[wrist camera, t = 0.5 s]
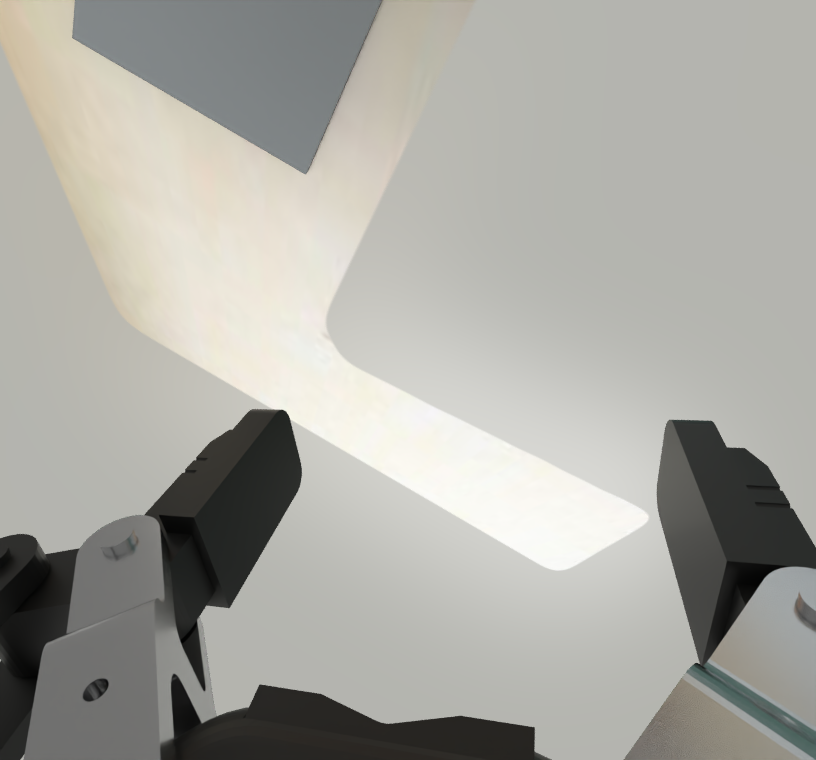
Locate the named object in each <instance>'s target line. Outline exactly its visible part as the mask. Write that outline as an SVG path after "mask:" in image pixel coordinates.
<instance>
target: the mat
mask: <svg viewBox="0 0 816 760" xmlns="http://www.w3.org/2000/svg"><path fill="white" fill-rule="evenodd" d="M381 2H382V0H75V8H74V22H73V35H72V38H73V39H75V40H77V41H78V42H80V43H82V44H83V45H85V46H87V47H89V48H90V49H92V50H94V51H95V52H97V53H99V54H100V55H102V56H104V57H106V58H107V59H109V60H111V61H112V62H114V63H116V64H118V65H119V66H121V67H123V68H124V69H126V70H128V71H130V72H131V73H133V74H135V75H136V76H138V77H140V78H142V79H143V80H145V81H147V82H148V83H150V84H152V85H154V86H155V87H157V88H159V89H160V90H162V91H164V92H165V93H167V94H169V95H171V96H172V97H174V98H176V99H177V100H179V101H181V102H183V103H184V104H186V105H188V106H189V107H191V108H193V109H195V110H196V111H198V112H200V113H201V114H203V115H205V116H207V117H208V118H210V119H212V120H213V121H215V122H217V123H218V124H220V125H222V126H224V127H225V128H227V129H229V130H230V131H232V132H234V133H236V134H237V135H239V136H241V137H242V138H244V139H246V140H248V141H249V142H251V143H253V144H254V145H256V146H258V147H260V148H261V149H263V150H265V151H266V152H268V153H270V154H271V155H273V156H275V157H277V158H278V159H280V160H282V161H283V162H285V163H287V164H289V165H290V166H292V167H294V168H295V169H297V170H299V171H301V172H302V173H304V174H306V173H307V172H308V170H309V167H310V165H311V163H312V161H313V158H314V156H315V154H316V151H317V149H318V147H319V144H320V142H321V140H322V138H323V135H324V133H325V131H326V128H327V126H328V124H329V121H330V119H331V117H332V115H333V112H334V110H335V108H336V105H337V103H338V101H339V98H340V96H341V94H342V91H343V89H344V87H345V85H346V82H347V80H348V78H349V75H350V73H351V71H352V68H353V66H354V64H355V62H356V59H357V57H358V55H359V52H360V50H361V48H362V45H363V43H364V41H365V39H366V36H367V34H368V32H369V29H370V27H371V25H372V22H373V20H374V18H375V16H376V13H377V11H378V9H379V6H380V4H381Z"/></svg>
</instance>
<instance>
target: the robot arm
mask: <svg viewBox="0 0 816 760" xmlns="http://www.w3.org/2000/svg"><path fill="white" fill-rule="evenodd" d="M301 476H302V468H301V462H300V458H299V454H298V450H297V446H296V442H295V438H294V434H293V430H292V426H291V422H290V418H289V416H288V414H287V412H286V411H284V410H267V409H252V410H250V411H249V412H248V413H247V414H246V415H245V416H244V417H243V418H242V420H241V421H240V422H239V423H238V424H237V425H236V426H235V428H234V429H233V430H229V431H227V432H225V433H224V434H223V435H221V436H219V437H218V438H216V439H215V440H213V441H211V442H210V443H209V444H208V445H207V446H206V447H205V448H204V450H203V451H202V452H201V453H200V454H199V455H198V456H197V457H196V461H195V460H194V461H193V462H192V463H191V464H190V465H189V466H188V467H187V468H186V469H185V473H182V474H181V475H180V476H179V477H178V478H177V479H176V480H175V482H174V483H173V484H172V485H171V486H170V487H169V488H168V489H167V490H166V491H165V493H164V494H163V495H162V496H161V497H160V498H159V499H158V500H157V501H156V503H155V504H154V505H153V506H152V507H151V508H150V509H149V510H148V511H147V512H146V514H145V515H135V516H129V517H125V518H122V519H119V520H116V521H113V522H111V523H109V524H107V525H105V526H104V527H102V528H100V529H99V530H97V531H96V532H95V533H94V534H92V535H91V536H90V537H89V538H88V539H87V540H86V541H85V542H84V543H83V545H82V546H81V547H80V548H79V549H74V550H68V551H62V552H57V553H51V554H44V552H43V550H42V548H41V547H40V545H39V544H38V542H37V540H36V538H34V537H33V536H30V535H27V534H26V535H25V534H17V535H11V536H7V537H3V538H0V659H1V662H0V760H20V759H21V758H22V757H23V755H24V760H551V759H549V758H547V757H544V756H542V755H540V754H538V753H536V752H534V740H535V728H534V727H528V726H522V725H516V724H509V723H502V722H496V721H490V720H484V719H477V718H471V717H464V716H455V717H447V718H438V719H429V720H420V721H412V722H402V723H394V724H384V723H380V722H377V721H375V720H373V719H371V718H369V717H367V716H365V715H363V714H361V713H359V712H357V711H354V710H353V709H351V708H348V707H346V706H344V705H342V704H340V703H338V702H336V701H334V700H332V699H330V698H328V697H326V696H324V695H322V694H317V693H311V692H304V691H297V690H291V689H285V688H278V687H272V686H266V685H259V687H258V689H257V691H256V693H255V696H254V698H253V700H252V702H251V704H250V706H249V708H243V709H239V710H235V711H231V712H227V713H225V714H222V715H219V716H217V715H216V711H215V706H214V701H213V694H212V687H211V679H210V673H209V666H208V658H207V651H206V644H205V637H204V630H203V625H202V622H201V619H200V617H199V616H200V615H201V613H202V611H203V610H204V608H205V606H206V605H207V606H216V607H225V608H230V606H231V605H232V603H233V601H234V599H235V598H236V596H237V594H238V593H239V591H240V589H241V587H242V586H243V584H244V582H245V581H246V579H247V577H248V575H249V574H250V572H251V570H252V569H253V567H254V565H255V564H256V562H257V560H258V558H259V557H260V555H261V553H262V552H263V550H264V548H265V546H266V545H267V543H268V541H269V540H270V538H271V536H272V534H273V533H274V531H275V529H276V528H277V526H278V524H279V523H280V521H281V519H282V517H283V516H284V514H285V512H286V510H287V509H288V507H289V505H290V504H291V502H292V500H293V499H294V497H295V495H296V493H297V492H298V489H299V487H300V483H301ZM657 504H658V512H659V517H660V520H661V524H662V528H663V531H664V534H665V538H666V542H667V546H668V549H669V553H670V556H671V560H672V563H673V567H674V571H675V575H676V578H677V582H678V586H679V589H680V593H681V596H682V600H683V604H684V607H685V611H686V614H687V618H688V622H689V625H690V629H691V633H692V636H693V640H694V644H695V647H696V651H697V654H698V658H699V661H700V664H698V663H695V664H694V665H692V666H691V667H690V668H689V669H688V670H687V672H686V673H685V674H684V676H683V677H682V678H681V680H680V681H679V682H678V684H677V685H676V687H675V688H674V689H673V691H672V692H671V694H670V695H669V697H668V698H667V699H666V701H665V702H664V704H663V705H662V706H661V708H660V710H659V711H658V712H657V714H656V715H655V716H654V718H653V719H652V721H651V722H650V723H649V725H648V726H647V728H646V729H645V731H644V732H643V733H642V735H641V736H640V738H639V739H638V740H637V742H636V743H635V745H634V746H633V747H632V749H631V750H630V752H629V753H628V754H627V756H626V757H625V759H624V760H816V547H815V545H814V544H813V542H812V540H811V539H810V537H809V535H808V534H807V532H806V530H805V528H804V527H803V525H802V523H801V522H800V520H799V519H798V517H797V515H796V513H795V512H794V510H793V509H792V508H790V503H789V501H788V500H787V498H786V496H785V495H784V493H783V491H780V486H779V484H778V483H777V481H776V479H775V478H774V476H773V474H772V473H771V471H770V469H769V468H768V466H767V465H765V464H764V463H763V462H762V461H760V460H759V459H758V458H757V457H755V456H754V455H753V454H751V453H750V452H749V451H748V450H746V449H745V448H727V447H726V445H725V443H724V441H723V439H722V437H721V435H720V433H719V431H718V430H717V428H716V426H715V424H714V423H713V422H712V421H698V420H669V421H668V422H667V424H666V428H665V433H664V440H663V447H662V454H661V461H660V468H659V475H658V483H657Z"/></svg>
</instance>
